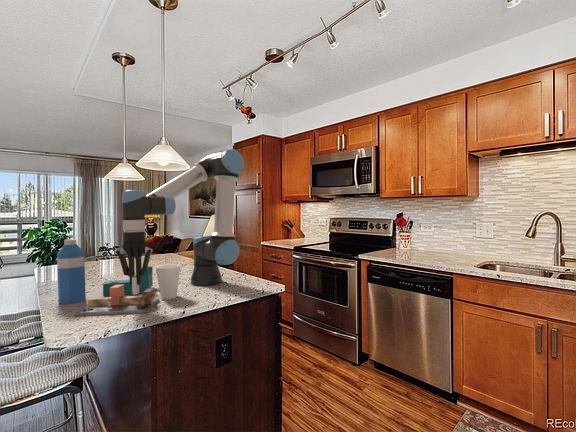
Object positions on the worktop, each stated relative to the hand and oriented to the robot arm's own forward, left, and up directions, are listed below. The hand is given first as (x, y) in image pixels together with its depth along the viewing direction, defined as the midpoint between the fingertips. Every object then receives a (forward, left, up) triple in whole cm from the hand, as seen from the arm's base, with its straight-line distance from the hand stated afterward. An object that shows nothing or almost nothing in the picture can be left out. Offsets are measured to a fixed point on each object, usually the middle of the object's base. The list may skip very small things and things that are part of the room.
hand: (135, 293), depth 118 cm
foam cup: (-9, -12, -5) cm, 15 cm away
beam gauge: (+5, +2, -4) cm, 7 cm away
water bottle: (+30, -13, -5) cm, 33 cm away
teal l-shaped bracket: (+12, -24, -5) cm, 27 cm away
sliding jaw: (+7, +2, -3) cm, 8 cm away
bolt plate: (+5, +1, -5) cm, 7 cm away
